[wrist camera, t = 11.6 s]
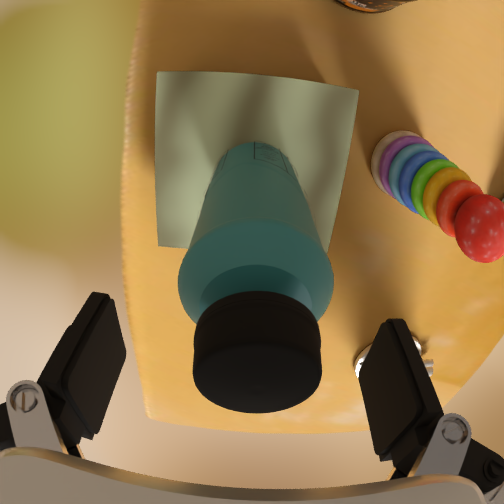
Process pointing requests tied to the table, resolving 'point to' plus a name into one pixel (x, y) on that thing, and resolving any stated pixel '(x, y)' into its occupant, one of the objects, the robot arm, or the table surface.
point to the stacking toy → (440, 193)
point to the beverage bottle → (256, 285)
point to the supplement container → (371, 5)
